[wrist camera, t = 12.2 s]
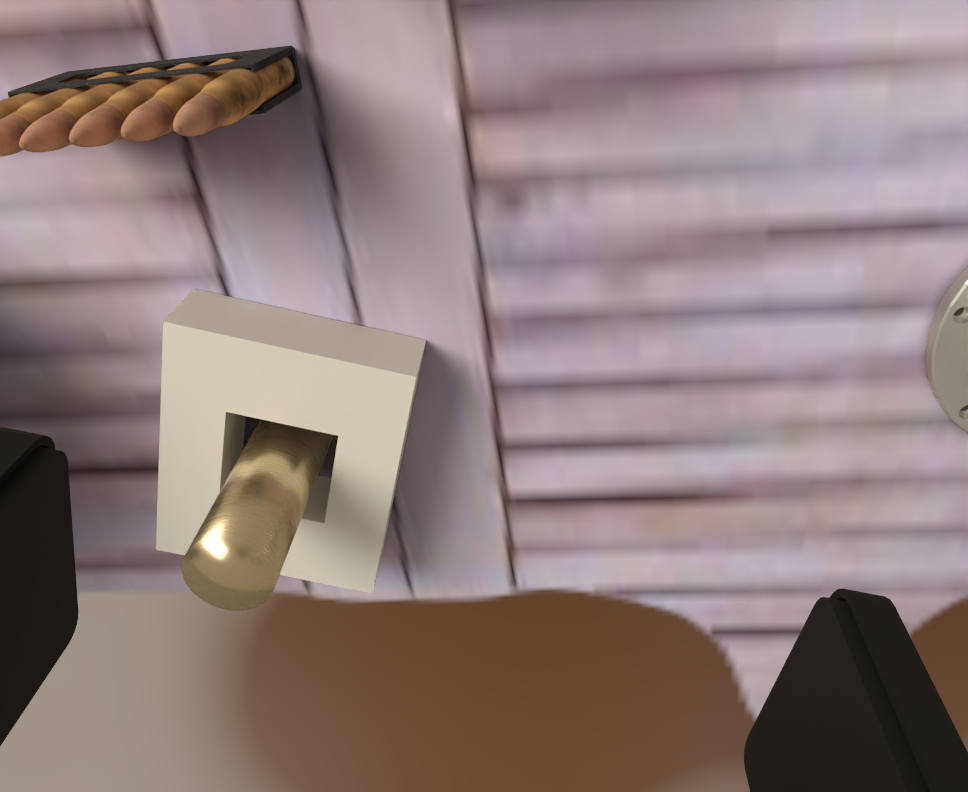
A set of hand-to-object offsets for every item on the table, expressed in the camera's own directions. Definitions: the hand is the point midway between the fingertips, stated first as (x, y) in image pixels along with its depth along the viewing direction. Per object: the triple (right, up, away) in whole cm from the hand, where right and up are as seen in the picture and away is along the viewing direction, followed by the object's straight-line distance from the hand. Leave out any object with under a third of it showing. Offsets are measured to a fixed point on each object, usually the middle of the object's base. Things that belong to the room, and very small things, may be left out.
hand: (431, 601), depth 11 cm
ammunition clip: (-13, +17, +28) cm, 35 cm away
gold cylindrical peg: (-10, +1, +36) cm, 38 cm away
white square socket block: (-10, +1, +36) cm, 38 cm away
